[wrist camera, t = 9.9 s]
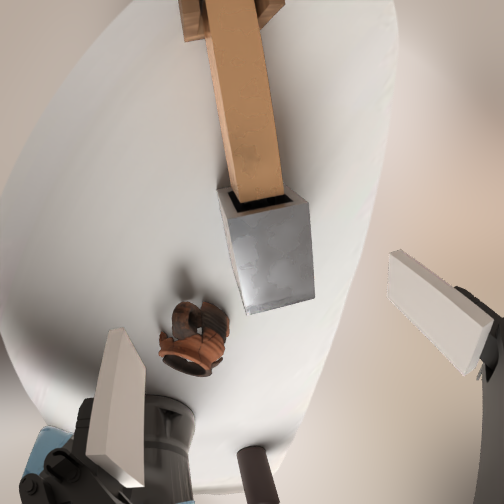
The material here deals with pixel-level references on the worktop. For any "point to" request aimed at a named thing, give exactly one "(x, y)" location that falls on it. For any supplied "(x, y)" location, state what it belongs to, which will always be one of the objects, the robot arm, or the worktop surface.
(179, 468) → the robot arm
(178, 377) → the worktop surface
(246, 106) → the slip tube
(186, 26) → the brown wooden box
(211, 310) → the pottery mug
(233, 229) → the sleeve
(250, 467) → the bottle
